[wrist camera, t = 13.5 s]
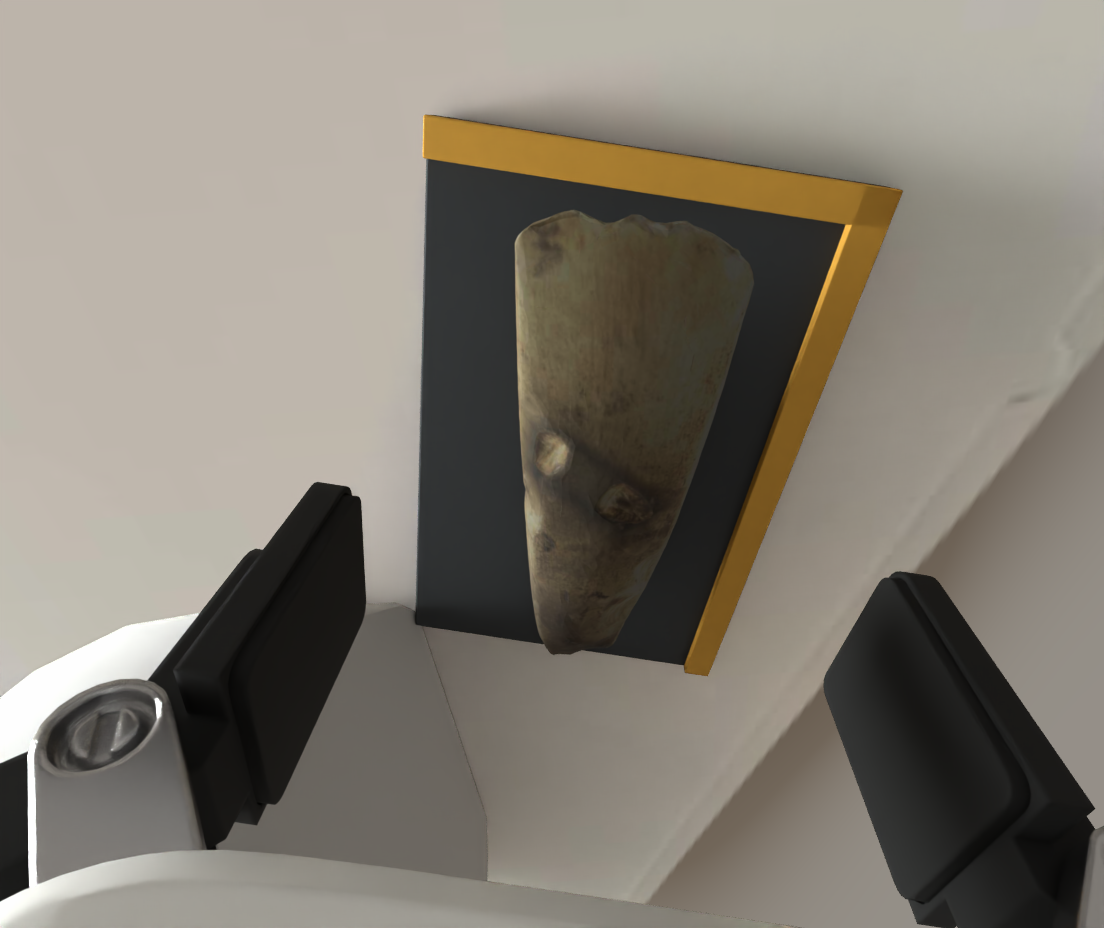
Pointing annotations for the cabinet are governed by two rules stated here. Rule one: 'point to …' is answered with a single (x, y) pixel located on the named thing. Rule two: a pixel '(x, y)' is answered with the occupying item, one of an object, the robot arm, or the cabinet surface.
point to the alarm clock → (323, 749)
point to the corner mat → (492, 378)
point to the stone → (614, 403)
